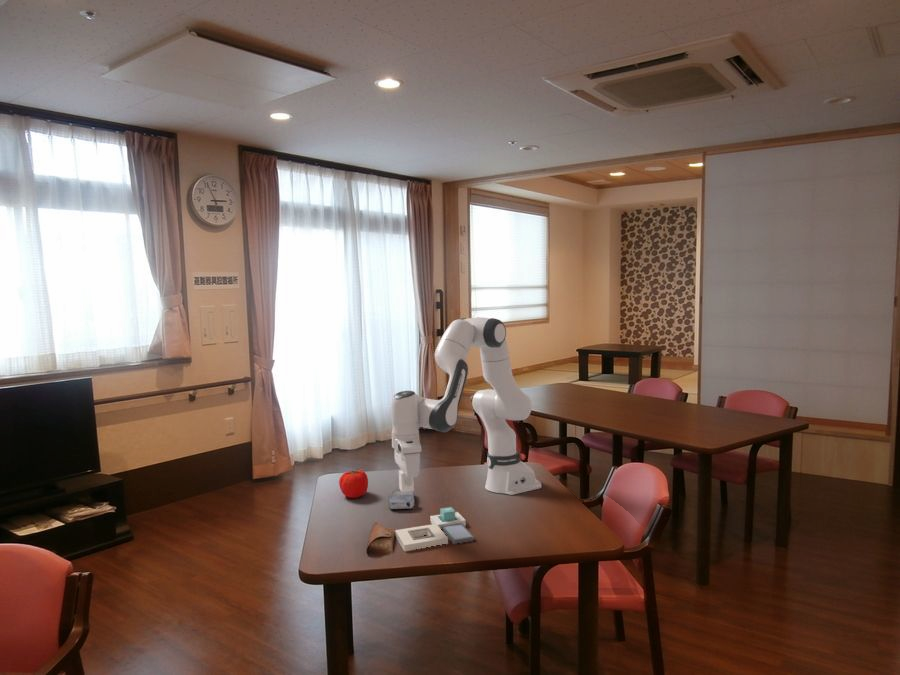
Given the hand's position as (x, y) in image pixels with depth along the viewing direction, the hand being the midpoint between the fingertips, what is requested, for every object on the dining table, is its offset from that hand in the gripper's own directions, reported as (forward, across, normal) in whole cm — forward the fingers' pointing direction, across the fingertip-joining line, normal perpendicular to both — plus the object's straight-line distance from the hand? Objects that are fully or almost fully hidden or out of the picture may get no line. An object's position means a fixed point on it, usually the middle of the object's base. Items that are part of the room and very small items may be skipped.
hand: (406, 483), depth 192 cm
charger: (+2, 0, 0) cm, 2 cm away
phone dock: (+16, +4, +14) cm, 22 cm away
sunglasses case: (+17, +5, -9) cm, 20 cm away
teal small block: (+16, -2, +14) cm, 22 cm away
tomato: (+17, -41, -12) cm, 46 cm away
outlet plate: (+16, +8, +2) cm, 18 cm away
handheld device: (+17, -28, +5) cm, 33 cm away
